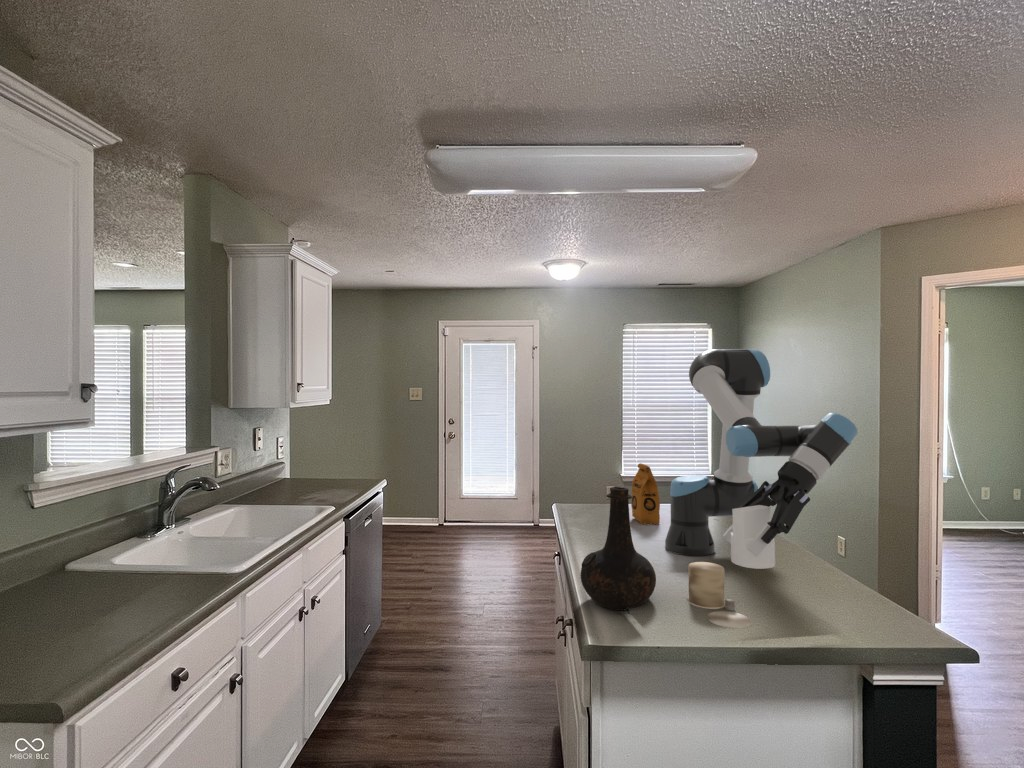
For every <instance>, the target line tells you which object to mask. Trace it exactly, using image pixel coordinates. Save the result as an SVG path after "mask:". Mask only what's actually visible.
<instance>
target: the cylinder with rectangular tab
mask: <svg viewBox="0 0 1024 768" xmlns="http://www.w3.org/2000/svg"><path fill="white" fill-rule="evenodd" d="M771 507H772V506H770V507H768V506H763V505H756V506H749V507H742V508H735V509H732V514H733V516H732V523H733V532H731V544H730V561H731V563H733V564H734V565H737V566H739V567H743V568H748V569H757V570H761V569H762V570H763V569H771V568H775V566H776V543H775V541H776V540H775V537H776V536H775V537H774V538H773V539H772V540H771V542H770V543H769V544H767V545H766V547H765V548H764V549H763V550H762V551H761V553H760V554H759V555H758V556H757V557H756V556H755V555H754V554H753V553H752V552H751V551H750V550H749V549H748V548H747V546H748V545H749V544H750V543H751V541H752V540H753V539H754V538H755V537H756V535H757V534H758V533H759V532H760V531H761V530H762V528H763V527H764V526H765V525H768V524H767V522H771V519H772V514H771V513H772V511H771V510H772V509H771ZM768 526H769V525H768ZM769 527H770V526H769Z"/></svg>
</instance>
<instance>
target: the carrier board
mask: <svg viewBox="0 0 1024 768" xmlns="http://www.w3.org/2000/svg"><path fill="white" fill-rule="evenodd" d="M686 601H687V602H688V603H689V604H690V605H692V606H694V607H698V608H703V609H711V610H714V611H711V612H709V613H708V614H707V620H708V621H709V622H711V623H712V624H714V625H717V626H720V627H724V628H728V629H746V628H748V627H750V626H752V624H753V621H752V620H751V619H750V618H749V617H747V615H744V614H741V613H738V612H735V607H736V605H735V600H734V599H730V598H725V604H724V605H723V606H721V607H717V608H708V607H701V606H698V605H695V604H693V603H691V602H690V601H689V595H688V596H687V597H686ZM723 608H724V609H725V610H717V609H723ZM715 610H716V611H715Z"/></svg>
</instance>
